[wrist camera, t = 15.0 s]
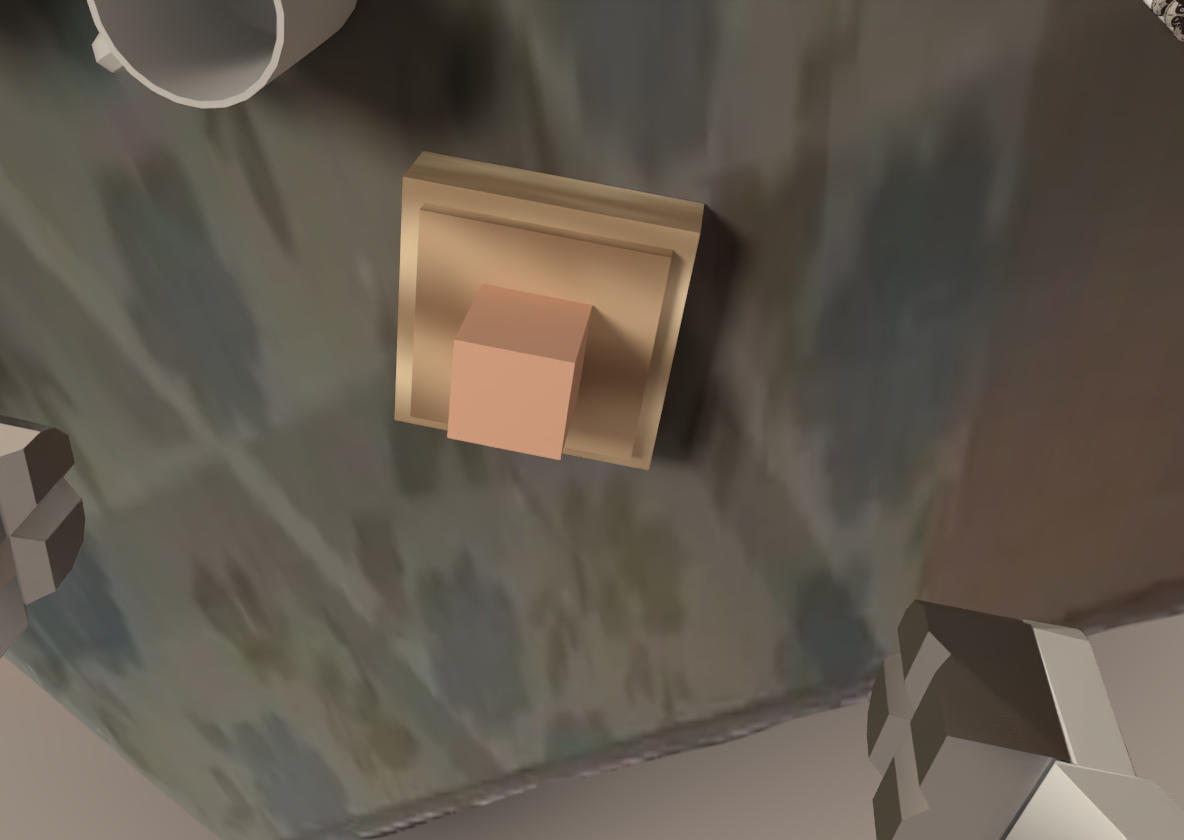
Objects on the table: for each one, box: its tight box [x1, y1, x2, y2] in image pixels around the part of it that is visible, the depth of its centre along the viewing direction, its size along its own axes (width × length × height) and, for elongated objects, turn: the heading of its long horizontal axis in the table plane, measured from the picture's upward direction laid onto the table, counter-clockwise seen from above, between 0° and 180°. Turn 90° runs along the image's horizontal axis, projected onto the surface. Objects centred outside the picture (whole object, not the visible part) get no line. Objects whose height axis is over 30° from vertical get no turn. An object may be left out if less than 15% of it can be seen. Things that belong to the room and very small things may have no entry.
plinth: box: [395, 151, 704, 470], centre depth 49 cm, size 13×13×4 cm
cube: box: [447, 284, 592, 460], centre depth 45 cm, size 5×5×5 cm
